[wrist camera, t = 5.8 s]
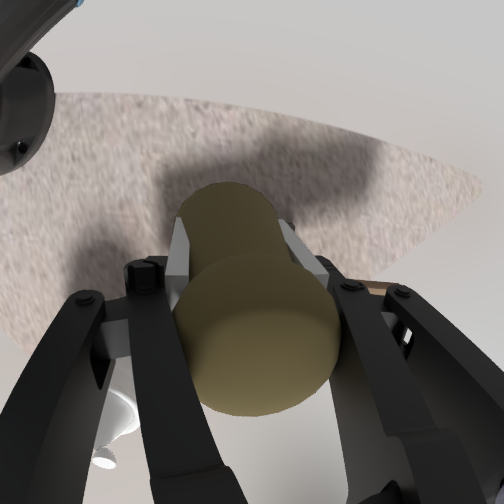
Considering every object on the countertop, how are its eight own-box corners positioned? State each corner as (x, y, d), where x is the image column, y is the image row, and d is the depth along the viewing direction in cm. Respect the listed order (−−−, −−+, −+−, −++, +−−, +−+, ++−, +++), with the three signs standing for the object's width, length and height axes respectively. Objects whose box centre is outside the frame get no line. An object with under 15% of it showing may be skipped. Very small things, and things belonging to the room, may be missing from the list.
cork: (193, 166, 16) (187, 238, 6) (296, 204, 18) (410, 308, 8) (159, 267, 18) (131, 424, 8) (255, 295, 20) (308, 446, 10)
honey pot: (176, 355, 43) (178, 466, 26) (115, 389, 43) (100, 488, 27) (113, 291, 37) (76, 400, 21) (54, 335, 38) (12, 433, 22)
